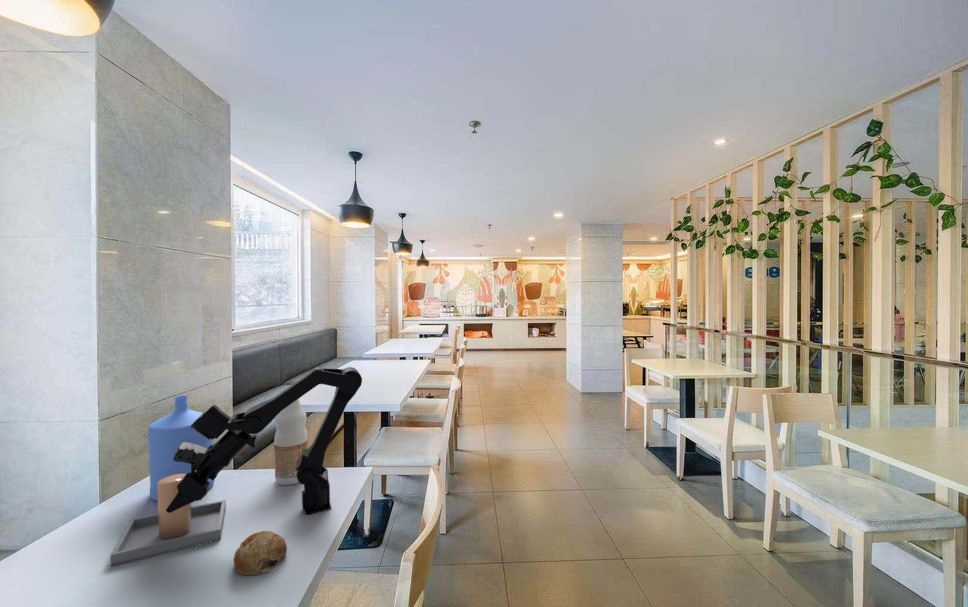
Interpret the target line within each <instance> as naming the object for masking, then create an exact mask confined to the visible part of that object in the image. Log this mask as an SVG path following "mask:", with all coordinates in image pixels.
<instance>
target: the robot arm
mask: <svg viewBox="0 0 968 607" xmlns="http://www.w3.org/2000/svg"><path fill="white" fill-rule="evenodd" d="M362 383H363V378H362V375H361V374H360V372H359V371H358V369H356V368H355V367H352V366H349V367H346V368H343V369H342V368H327V367H326V368H324V367H320V366H318V367H315V368H313V369H311V371H310V372H309V373H307V374H305V375H304V376H303V377H301V378H300V379H298V380H296V382H294V383H293V384H291V385H290V386H288V387H286V388H285V389H284V390H283V391H281V392H280V393H278V394H277V395H275V396H274V397H272V398H270V399H268V400H264V401H262V402H260V403H258V404H256V405H253V406H251V407H250V408H249V409H247V410H246V411H244V412H239V413H236V414H231V416H230V415H228V414H227V413H225V412H224V411H222V409H220V407H218V406H217V405H216V404H213V405H211V406H210V407H209V408H208V409H207V410H206V411H203V412H202V413H203V414H202V415H201V416H200V417H199V418H198V419H196V420H195V421H194V422H193V424H192V425H191V426H190V427H191V428H193V429H194V430H195V431H197V432H198V433H200V434H201V435H203V436H204V437H206V438H207V439H208V440H210V439H212V440H213V441H214V439H215V440H217V439H218V438H219V439H218V440H217V441H216V442H214V443H213V445H211V446H210V447H208V448H205V447H202V446H200V445H196V444H192V443H188V442H183V443H182V444H181V445H180V446H179V448H178V450H177V452H176V454H175V456H174V458H173V460H174V461H176V462H184V463H188V464H191V473H187V474H186V475H185V476H184V477H183V478H182V479H181V480H180V482H179V483H178V485H177V489H178V494H177V495H176V496H175V498H174V499H173V501H172V502H171V503H170V505H169V506H168V508H167V509H166V512H168V513H171V512H173V511H175V510H177V509H179V508H181V507H183V506H185V505H187V504H190V503H191V504H192V503H194V502H199V501H201V500H203V499H204V498H205V496H207V495H208V493H209V491H210V489H211V487H210V482H208V481H207V480H208V479H209V478H210V479H211V480H214V479H216V478H217V476H218V474H220V472H221V471H222V470H224V468H225V467H226V468H228V466H229V465H230V463H231V461H232V460H233V459H234V458H235V457H236V456H237V455H238V454H239V453H240V452H241V450H243V449H244V448H245V446H247V445H248V446H249V447H251V448H252V449H255V448H256V446H257V436H258V434H259V433H261V432H262V431H263V430H264V429H266V428H267V426H268V425H270V424H271V422H273V420H275V417H276V416H277V415H278V414H279V413H280V412H281V411H282V410H283V409H285V408H286V407H288V406H289V405H290V404H292V403H293V402H295V401H296V400H297V399H299V400H300V398H302V397H303V396H305V395H306V394H308V393H309V392H310V391H311V390H313V389H314V388H316V387H317V386H319V385H325V386H329V387H334V388H335V389H334V390H335V391H334V396H333V398H332V401H331V403H330V405H329V407H328V409H327V411H326V413H325V416H324V418H323V420H322V422H321V425H320V426H319V429H318V431H317V432H316V435H315V437H314V440H313V442H312V444H311V445H310V446H309V447H308V450H307V449H305V448H303V449H302V453H301V456H300V457H299V459H298V460H297V462H296V471H297V479H298V481H299V483H300V484H301V485H303V490H302V491H301V507H302V510H304V514H305V515H311V514H315V513H319V512H322V511H328V510H331V509H332V504H331V495H330V494H331V493H330V492H331V490H330V488H331V487H330V486H331V484H330V482H329V473H328V468H326V467H325V466H324V459H325V456H326V451H327V450H328V447H329V445H330V443H331V440H332V438H333V436H334V434H335V431H336V429H337V427H338V425H339V423H340V420H341V418H342V416H343V414H344V411H345V409H346V407H347V405H348V403H349V402H350V401H351V400H352V398H354V396H355V395H356V394H357V392H358V390H359V388H361V386H362ZM226 430H227V431H226ZM225 431H226V432H225ZM224 432H225V433H224ZM222 434H223V435H222ZM221 435H222V436H221ZM214 481H215V480H214Z"/></svg>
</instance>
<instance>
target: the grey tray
mask: <svg viewBox="0 0 968 607" xmlns="http://www.w3.org/2000/svg"><path fill="white" fill-rule="evenodd" d="M226 501H227V500H226V499H222V500H218V501H213V502H207V503H203V504H198V505H194V506H191V521H192V529H191V530H190V531H189V532H188V533H187V534H185V535H183V536H181V537H178V538H174V539H170V540H161V539H160V538H159V521H158V513H156V514H155V513H154V514H150V515H145V516H140V517H136V518H132V519H130V521H129V522H128V524H127V526H126V528H125V529H124V531H123V533H122V534H121V535H120V538H119V540H118V542H117V543H116V545H115V547H114V549H113V550H112V552H111V554H110V567H115V566H118V565H123V564H127V563H131V562H135V561H140V560H143V559H147V558H151V557H155V556H156V557H157V556H159V555H164V554H167V553H171V552H176V551H179V550H180V551H181V550H184V549H188V547H189V548H192V546H193V547H196V546H195V545H197V546H200V545H199V544H201V545H204V544H203V543H205V544H207V543H206V542H209V543H211V542H210V541H213V542H216V541H215V540H217V541H221V540H220V539H222V536H223V529H224V522H225V515H226V509H227V503H226ZM221 535H222V536H221Z"/></svg>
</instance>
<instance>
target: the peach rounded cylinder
mask: <svg viewBox="0 0 968 607" xmlns="http://www.w3.org/2000/svg"><path fill="white" fill-rule="evenodd" d="M185 475H186V474H176V475H172V476H168V477H166V478H163V479H161V480H160V481H159V482H158V501H157V512H158V513H157V514H158V521H159V538H160V539H161V540H170V539H174V538H178V537H181V536H183V535H185V534H187V533H188V532H189V531H190V530H191V529H192V521H191V507H192V503H190V504H187V505H185V506H183V507H181V508H179V509H177V510H175V511H173V512H171V513H168V512H166V509H167V508H168V506H169V505H170V503H171V502H172V501H173V499H174V498H175V496H176V495H177V494H178V489H177V485H178V483H179V482H180V480H181V479H182V478H183V477H184V476H185Z"/></svg>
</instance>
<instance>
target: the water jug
mask: <svg viewBox="0 0 968 607" xmlns="http://www.w3.org/2000/svg"><path fill="white" fill-rule="evenodd" d="M188 398H189V396H188V395H178V396H175V397H174V398H173V399H174V410H173V412H171V413H169V414H166V415H164V416H163V417H161V418H159V419H157V420H155V421H153V422H151V423H150V425H149V426H148V432H147V437H148V438H147V440H148V447H149V449H148V450H149V452H148V453H149V456H148V457H149V460H148V469H149V484H150V485H149V486H150V487H149V497H150V498H151V499H152V500H153V501H156V502H158V482H159V481H160V480H161V479H163V478H166V477H168V476H172V475H176V474H187V473H191V464H188V463H184V462H176V461H174V460H173V458H174V456H175V454H176V452H177V450H178V448H179V446H180V445H181V444H182V443H183V442H188V443H192V444H196V445H200V446H202V447H205V448H208V447H210V446H211V445H213V444H214V439H213V440H212V439H210V440H208V439H207V438H206V437H204V436H203V435H201V434H200V433H198V432H197V431H195V430H194V429H193V428H191V427H190V426H191V425H192V424H193V422H194V421H195V420H196V419H198V418H199V417H200V416H201V415H202V414H203V413H204V412H201V411H197V410H192V409H189V407H188V405H189V404H188V403H189V401H188ZM215 479H216V478H215ZM215 479H214V480H211V479H210V478H209V479H208V480H207V481H208V482H210V488H211V487H212V486H213V485H214V484H215V481H216V480H215Z"/></svg>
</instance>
